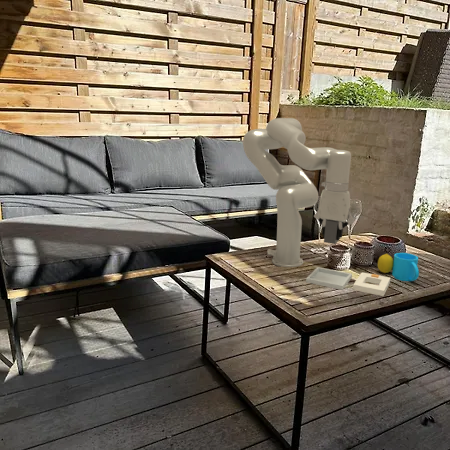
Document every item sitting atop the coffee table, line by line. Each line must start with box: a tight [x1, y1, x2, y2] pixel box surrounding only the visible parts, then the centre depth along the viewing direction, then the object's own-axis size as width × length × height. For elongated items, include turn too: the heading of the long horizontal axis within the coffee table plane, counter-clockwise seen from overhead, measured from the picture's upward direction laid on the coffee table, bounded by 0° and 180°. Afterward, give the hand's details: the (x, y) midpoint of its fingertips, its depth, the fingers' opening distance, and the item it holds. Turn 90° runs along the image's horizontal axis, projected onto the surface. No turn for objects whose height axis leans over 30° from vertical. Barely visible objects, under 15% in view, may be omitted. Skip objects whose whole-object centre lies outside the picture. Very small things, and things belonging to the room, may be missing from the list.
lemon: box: [377, 253, 394, 274], centre depth 158 cm, size 6×6×8 cm
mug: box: [391, 252, 420, 282], centre depth 153 cm, size 12×8×8 cm
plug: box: [323, 220, 340, 245], centre depth 147 cm, size 4×5×8 cm
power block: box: [352, 272, 392, 297], centre depth 146 cm, size 10×13×3 cm
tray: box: [305, 266, 353, 291], centre depth 151 cm, size 13×13×2 cm
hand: (331, 237), depth 148 cm, fingers closed on plug, 4 cm apart
